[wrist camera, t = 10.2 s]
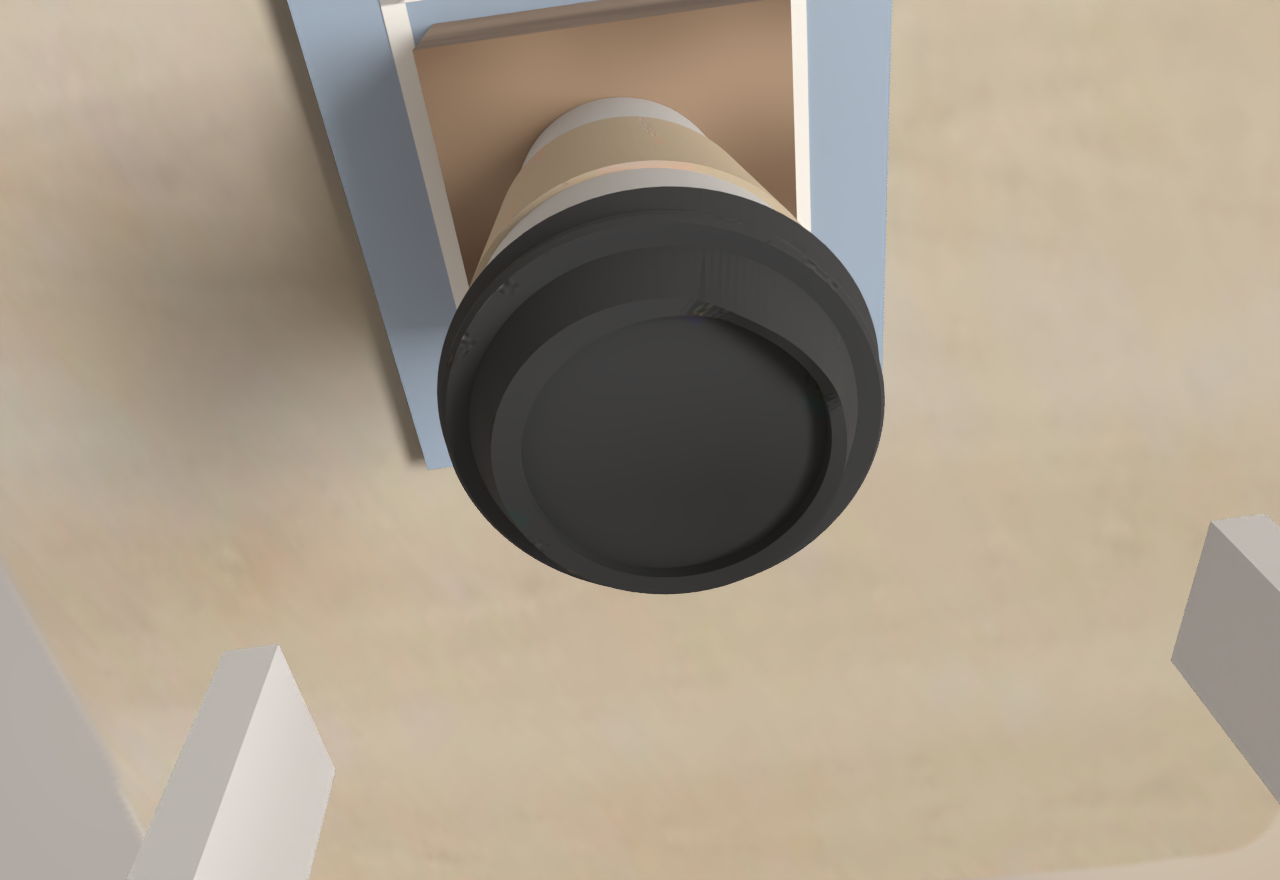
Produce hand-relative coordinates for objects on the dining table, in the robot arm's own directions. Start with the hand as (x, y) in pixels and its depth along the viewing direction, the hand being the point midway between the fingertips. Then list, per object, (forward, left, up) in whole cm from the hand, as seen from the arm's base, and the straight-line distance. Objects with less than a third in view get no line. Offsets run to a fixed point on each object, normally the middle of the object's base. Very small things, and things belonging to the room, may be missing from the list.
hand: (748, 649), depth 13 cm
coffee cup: (0, -1, -19) cm, 19 cm away
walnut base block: (0, -1, -24) cm, 24 cm away
